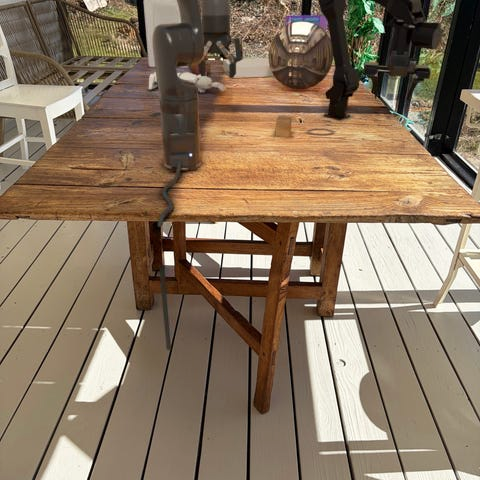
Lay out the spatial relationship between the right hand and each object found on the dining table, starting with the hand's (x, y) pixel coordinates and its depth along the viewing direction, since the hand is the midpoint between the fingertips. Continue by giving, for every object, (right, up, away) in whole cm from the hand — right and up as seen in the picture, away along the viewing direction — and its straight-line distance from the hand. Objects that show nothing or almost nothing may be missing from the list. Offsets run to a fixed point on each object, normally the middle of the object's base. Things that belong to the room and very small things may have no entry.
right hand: (391, 99), depth 145 cm
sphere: (-23, +18, +47) cm, 55 cm away
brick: (-33, -11, -1) cm, 35 cm away
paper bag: (-79, +42, +86) cm, 124 cm away
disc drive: (-41, +33, +70) cm, 88 cm away
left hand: (-52, +3, -11) cm, 54 cm away
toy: (-66, +15, +41) cm, 79 cm away
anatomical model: (-64, +30, +66) cm, 97 cm away
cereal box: (-18, +33, +71) cm, 80 cm away
